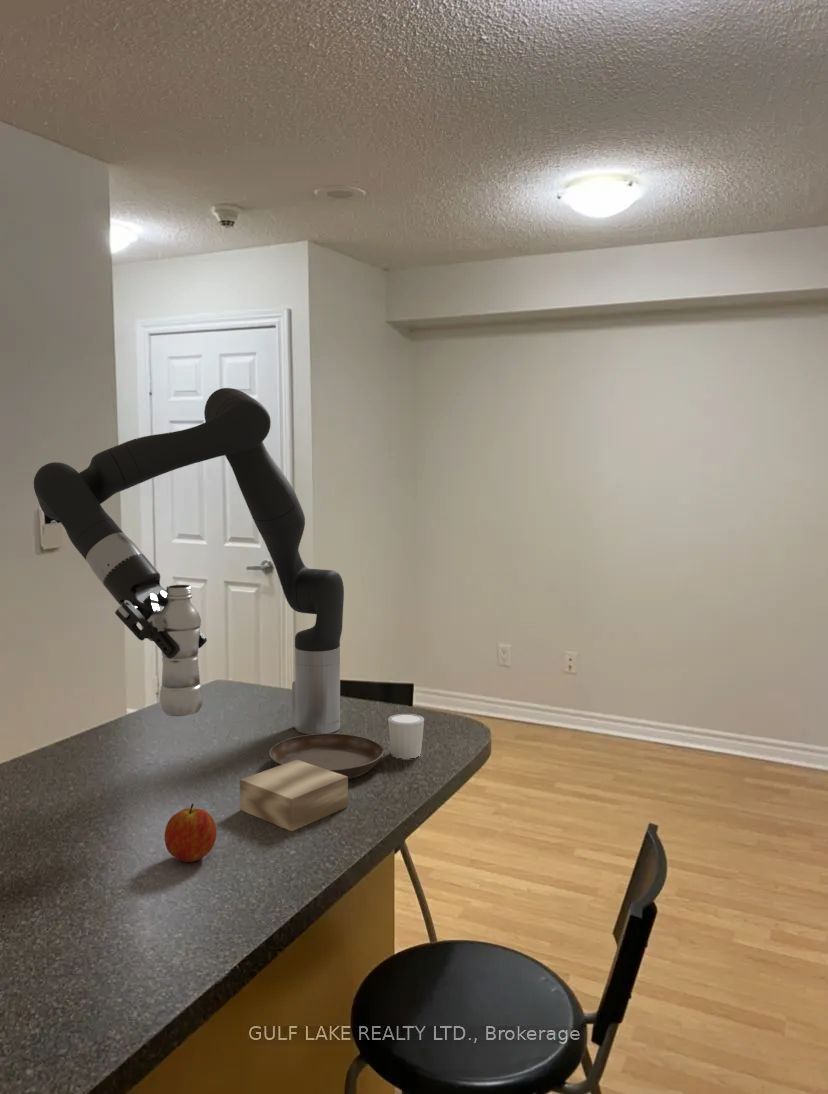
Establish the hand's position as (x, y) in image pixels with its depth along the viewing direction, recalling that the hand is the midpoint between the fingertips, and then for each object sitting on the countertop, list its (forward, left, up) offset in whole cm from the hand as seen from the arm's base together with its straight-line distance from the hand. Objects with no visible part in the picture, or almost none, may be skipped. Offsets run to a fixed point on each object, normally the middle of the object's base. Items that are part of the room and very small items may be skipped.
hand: (189, 649), depth 128 cm
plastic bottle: (-2, 0, -11) cm, 11 cm away
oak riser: (+10, +13, -26) cm, 31 cm away
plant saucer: (0, +30, -27) cm, 40 cm away
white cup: (+7, +44, -27) cm, 51 cm away
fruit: (+12, -8, -27) cm, 30 cm away
